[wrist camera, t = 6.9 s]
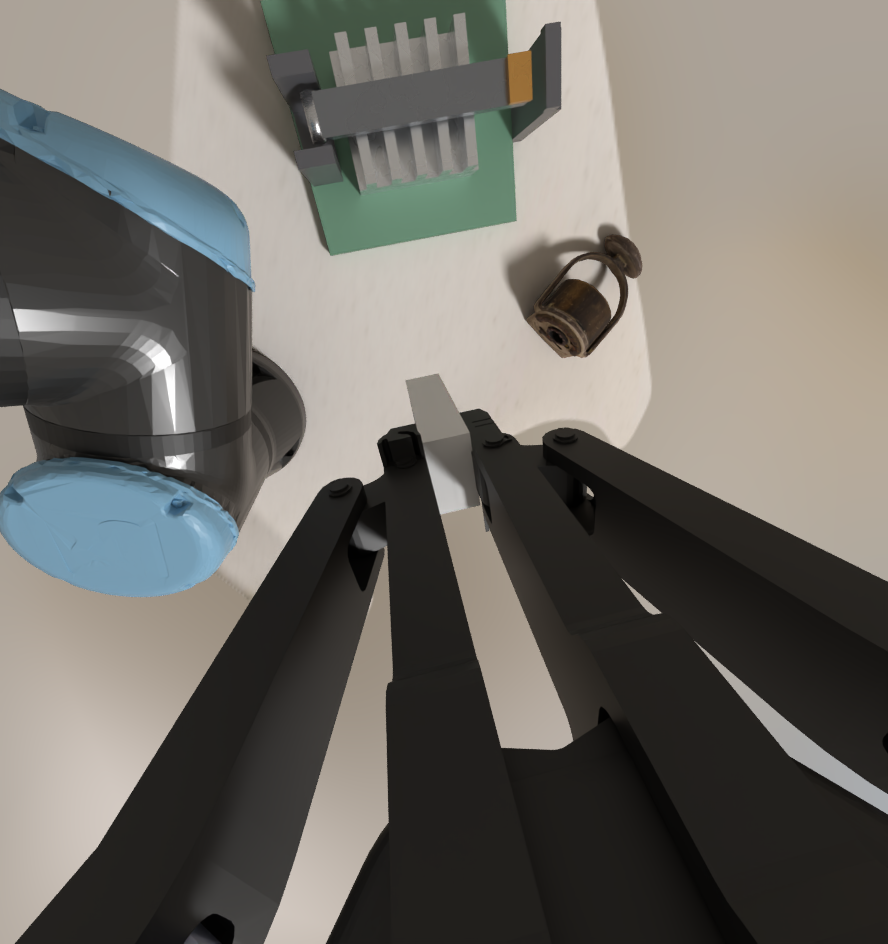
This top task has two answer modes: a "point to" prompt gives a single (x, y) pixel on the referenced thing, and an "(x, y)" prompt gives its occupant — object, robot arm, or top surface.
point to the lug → (541, 84)
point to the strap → (418, 98)
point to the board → (340, 204)
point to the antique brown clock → (585, 302)
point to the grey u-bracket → (291, 79)
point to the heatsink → (419, 146)
